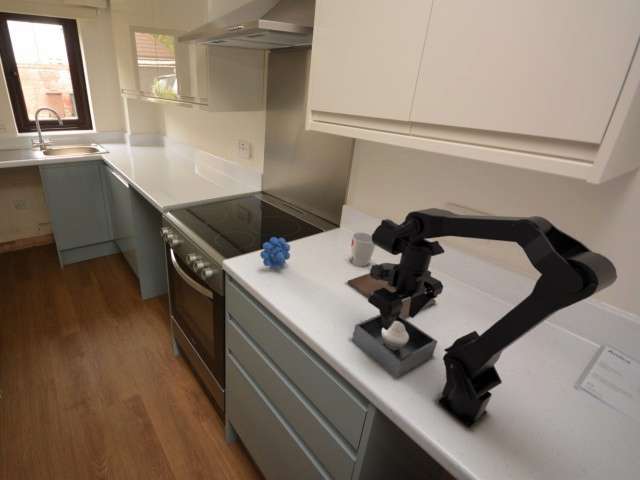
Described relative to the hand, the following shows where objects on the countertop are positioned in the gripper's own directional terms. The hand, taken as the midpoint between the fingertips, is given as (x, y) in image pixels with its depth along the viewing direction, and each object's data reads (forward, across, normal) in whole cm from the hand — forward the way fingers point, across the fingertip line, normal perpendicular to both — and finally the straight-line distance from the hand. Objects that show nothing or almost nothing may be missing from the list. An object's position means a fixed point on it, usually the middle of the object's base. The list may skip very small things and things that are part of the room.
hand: (398, 322), depth 79 cm
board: (+8, -19, -16) cm, 26 cm away
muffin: (+7, 0, 0) cm, 7 cm away
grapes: (+8, +5, -43) cm, 44 cm away
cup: (+8, -25, -34) cm, 43 cm away
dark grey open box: (+8, 0, 0) cm, 8 cm away
